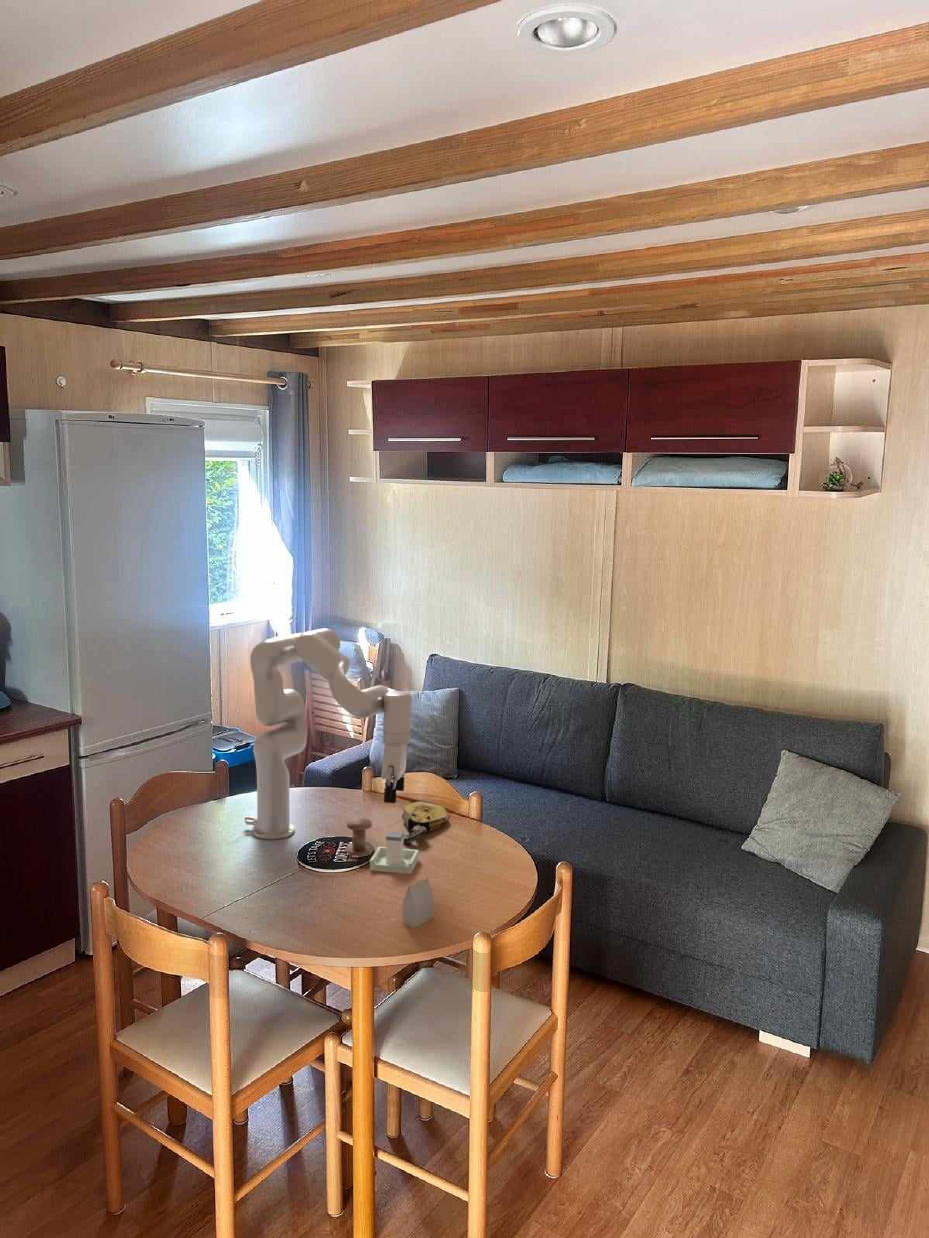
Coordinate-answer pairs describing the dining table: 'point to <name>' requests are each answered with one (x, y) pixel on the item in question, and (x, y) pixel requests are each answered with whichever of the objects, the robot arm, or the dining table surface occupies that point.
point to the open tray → (406, 866)
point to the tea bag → (418, 903)
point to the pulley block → (422, 819)
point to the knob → (359, 837)
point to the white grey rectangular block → (394, 847)
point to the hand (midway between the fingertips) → (394, 796)
